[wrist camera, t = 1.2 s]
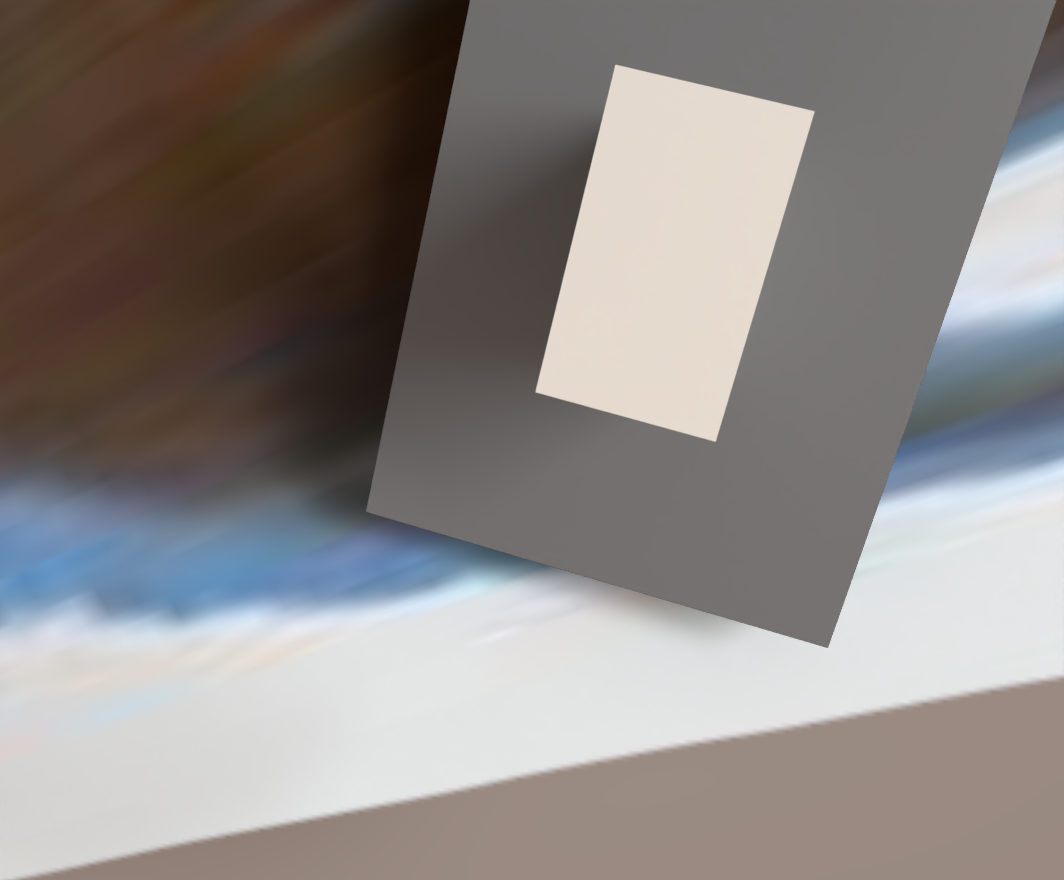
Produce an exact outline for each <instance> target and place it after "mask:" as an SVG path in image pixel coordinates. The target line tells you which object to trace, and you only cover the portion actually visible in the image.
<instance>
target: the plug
mask: <svg viewBox="0 0 1064 880" xmlns="http://www.w3.org/2000/svg"><path fill="white" fill-rule="evenodd" d="M814 112H815V111H811V110H807V109H803V108H798V107H794V106H790V105H786V104H781V103H777V102H773V101H769V100H764V99H760V98H756V97H752V96H747V95H743V94H739V93H735V92H730V91H726V90H722V89H717V88H713V87H709V86H705V85H700V84H696V83H692V82H688V81H683V80H679V79H675V78H671V77H666V76H662V75H658V74H653V73H649V72H645V71H641V70H636V69H632V68H628V67H624V66H619V65H615V69H614V73H613V77H612V81H611V85H610V89H609V93H608V97H607V101H606V105H605V109H604V114H603V118H602V122H601V126H600V130H599V134H598V138H597V142H596V146H595V150H594V154H593V159H592V163H591V167H590V171H589V175H588V179H587V183H586V187H585V191H584V195H583V199H582V203H581V208H580V212H579V216H578V220H577V224H576V228H575V232H574V236H573V240H572V244H571V248H570V253H569V257H568V261H567V265H566V269H565V273H564V277H563V281H562V285H561V289H560V293H559V297H558V302H557V306H556V310H555V314H554V318H553V322H552V326H551V330H550V334H549V338H548V342H547V347H546V351H545V355H544V359H543V363H542V367H541V371H540V375H539V379H538V383H537V387H536V393H540V394H544V395H547V396H551V397H555V398H558V399H562V400H565V401H569V402H573V403H576V404H580V405H584V406H587V407H591V408H595V409H598V410H602V411H605V412H609V413H613V414H616V415H620V416H624V417H627V418H631V419H635V420H638V421H642V422H645V423H649V424H653V425H656V426H660V427H664V428H667V429H671V430H675V431H678V432H682V433H685V434H689V435H693V436H696V437H700V438H704V439H707V440H711V441H714V442H716V439H717V436H718V432H719V429H720V426H721V422H722V419H723V416H724V412H725V409H726V406H727V402H728V399H729V396H730V392H731V389H732V386H733V382H734V379H735V376H736V372H737V369H738V366H739V362H740V359H741V356H742V352H743V349H744V346H745V342H746V339H747V336H748V332H749V329H750V326H751V322H752V319H753V316H754V312H755V309H756V306H757V302H758V299H759V296H760V292H761V289H762V286H763V282H764V279H765V276H766V272H767V269H768V266H769V262H770V259H771V256H772V252H773V249H774V246H775V242H776V239H777V236H778V232H779V229H780V226H781V222H782V219H783V216H784V212H785V209H786V206H787V202H788V199H789V196H790V192H791V189H792V185H793V182H794V179H795V175H796V172H797V169H798V165H799V162H800V159H801V155H802V152H803V149H804V145H805V142H806V139H807V135H808V132H809V129H810V125H811V122H812V119H813V115H814Z"/></svg>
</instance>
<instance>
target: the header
mask: <svg viewBox="0 0 1064 880" xmlns="http://www.w3.org/2000/svg"><path fill="white" fill-rule="evenodd" d="M1055 2H1056V0H470V4H469V9H468V14H467V19H466V24H465V28H464V33H463V38H462V43H461V48H460V53H459V58H458V63H457V68H456V73H455V78H454V82H453V87H452V92H451V97H450V102H449V107H448V112H447V117H446V122H445V127H444V131H443V136H442V141H441V146H440V151H439V156H438V161H437V166H436V171H435V176H434V181H433V185H432V190H431V195H430V200H429V205H428V210H427V215H426V220H425V225H424V230H423V235H422V239H421V244H420V249H419V254H418V259H417V264H416V269H415V274H414V279H413V284H412V289H411V293H410V298H409V303H408V308H407V313H406V318H405V323H404V328H403V333H402V338H401V343H400V347H399V352H398V357H397V362H396V367H395V372H394V377H393V382H392V387H391V392H390V397H389V401H388V406H387V411H386V416H385V421H384V426H383V431H382V436H381V441H380V446H379V451H378V455H377V460H376V465H375V470H374V475H373V480H372V485H371V490H370V495H369V500H368V505H367V509H366V512H369V513H372V514H375V515H379V516H382V517H386V518H389V519H392V520H396V521H399V522H402V523H406V524H409V525H413V526H416V527H419V528H423V529H426V530H430V531H433V532H436V533H440V534H443V535H447V536H450V537H453V538H457V539H460V540H464V541H467V542H470V543H474V544H477V545H480V546H484V547H487V548H491V549H494V550H497V551H501V552H504V553H508V554H511V555H514V556H518V557H521V558H525V559H528V560H531V561H535V562H538V563H541V564H545V565H548V566H552V567H555V568H558V569H562V570H565V571H569V572H572V573H575V574H579V575H582V576H586V577H589V578H592V579H596V580H599V581H603V582H606V583H609V584H613V585H616V586H619V587H623V588H626V589H630V590H633V591H636V592H640V593H643V594H647V595H650V596H653V597H657V598H660V599H664V600H667V601H670V602H674V603H677V604H681V605H684V606H687V607H691V608H694V609H697V610H701V611H704V612H708V613H711V614H714V615H718V616H721V617H725V618H728V619H731V620H735V621H738V622H742V623H745V624H748V625H752V626H755V627H758V628H762V629H765V630H769V631H772V632H775V633H779V634H782V635H786V636H789V637H792V638H796V639H799V640H803V641H806V642H809V643H813V644H816V645H820V646H823V647H826V648H828V646H829V643H830V640H831V638H832V635H833V632H834V629H835V626H836V623H837V621H838V618H839V615H840V612H841V609H842V606H843V604H844V601H845V598H846V595H847V592H848V589H849V587H850V584H851V581H852V578H853V575H854V572H855V570H856V567H857V564H858V561H859V558H860V555H861V552H862V550H863V547H864V544H865V541H866V538H867V535H868V533H869V530H870V527H871V524H872V521H873V518H874V516H875V513H876V510H877V507H878V504H879V501H880V499H881V496H882V493H883V490H884V487H885V484H886V482H887V479H888V476H889V473H890V470H891V467H892V465H893V462H894V459H895V456H896V453H897V450H898V448H899V445H900V442H901V439H902V436H903V433H904V431H905V428H906V425H907V422H908V419H909V416H910V414H911V411H912V408H913V405H914V402H915V399H916V397H917V394H918V391H919V388H920V385H921V382H922V379H923V377H924V374H925V371H926V368H927V365H928V362H929V360H930V357H931V354H932V351H933V348H934V345H935V343H936V340H937V337H938V334H939V331H940V328H941V326H942V323H943V320H944V317H945V314H946V311H947V309H948V306H949V303H950V300H951V297H952V294H953V292H954V289H955V286H956V283H957V280H958V277H959V275H960V272H961V269H962V266H963V263H964V260H965V258H966V255H967V252H968V249H969V246H970V243H971V241H972V238H973V235H974V232H975V229H976V226H977V224H978V221H979V218H980V215H981V212H982V209H983V207H984V204H985V201H986V198H987V195H988V192H989V189H990V187H991V184H992V181H993V178H994V175H995V172H996V170H997V167H998V164H999V161H1000V158H1001V155H1002V153H1003V150H1004V147H1005V144H1006V141H1007V138H1008V136H1009V133H1010V130H1011V127H1012V124H1013V121H1014V119H1015V116H1016V113H1017V110H1018V107H1019V104H1020V102H1021V99H1022V96H1023V93H1024V90H1025V87H1026V85H1027V82H1028V79H1029V76H1030V73H1031V70H1032V68H1033V65H1034V62H1035V59H1036V56H1037V53H1038V51H1039V48H1040V45H1041V42H1042V39H1043V36H1044V34H1045V31H1046V28H1047V25H1048V22H1049V19H1050V16H1051V14H1052V11H1053V8H1054V5H1055ZM615 65H619V66H624V67H628V68H632V69H636V70H641V71H645V72H649V73H653V74H658V75H662V76H666V77H671V78H675V79H679V80H683V81H688V82H692V83H696V84H700V85H705V86H709V87H713V88H717V89H722V90H726V91H730V92H735V93H739V94H743V95H747V96H752V97H756V98H760V99H764V100H769V101H773V102H777V103H781V104H786V105H790V106H794V107H798V108H803V109H807V110H811V111H815V112H814V115H813V119H812V122H811V125H810V129H809V132H808V135H807V139H806V142H805V145H804V149H803V152H802V155H801V159H800V162H799V165H798V169H797V172H796V175H795V179H794V182H793V185H792V189H791V192H790V196H789V199H788V202H787V206H786V209H785V212H784V216H783V219H782V222H781V226H780V229H779V232H778V236H777V239H776V242H775V246H774V249H773V252H772V256H771V259H770V262H769V266H768V269H767V272H766V276H765V279H764V282H763V286H762V289H761V292H760V296H759V299H758V302H757V306H756V309H755V312H754V316H753V319H752V322H751V326H750V329H749V332H748V336H747V339H746V342H745V346H744V349H743V352H742V356H741V359H740V362H739V366H738V369H737V372H736V376H735V379H734V382H733V386H732V389H731V392H730V396H729V399H728V402H727V406H726V409H725V412H724V416H723V419H722V422H721V426H720V429H719V432H718V436H717V439H716V442H714V441H711V440H707V439H704V438H700V437H696V436H693V435H689V434H685V433H682V432H678V431H675V430H671V429H667V428H664V427H660V426H656V425H653V424H649V423H645V422H642V421H638V420H635V419H631V418H627V417H624V416H620V415H616V414H613V413H609V412H605V411H602V410H598V409H595V408H591V407H587V406H584V405H580V404H576V403H573V402H569V401H565V400H562V399H558V398H555V397H551V396H547V395H544V394H540V393H536V387H537V383H538V379H539V375H540V371H541V367H542V363H543V359H544V355H545V351H546V347H547V342H548V338H549V334H550V330H551V326H552V322H553V318H554V314H555V310H556V306H557V302H558V297H559V293H560V289H561V285H562V281H563V277H564V273H565V269H566V265H567V261H568V257H569V253H570V248H571V244H572V240H573V236H574V232H575V228H576V224H577V220H578V216H579V212H580V208H581V203H582V199H583V195H584V191H585V187H586V183H587V179H588V175H589V171H590V167H591V163H592V159H593V154H594V150H595V146H596V142H597V138H598V134H599V130H600V126H601V122H602V118H603V114H604V109H605V105H606V101H607V97H608V93H609V89H610V85H611V81H612V77H613V73H614V69H615Z"/></svg>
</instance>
